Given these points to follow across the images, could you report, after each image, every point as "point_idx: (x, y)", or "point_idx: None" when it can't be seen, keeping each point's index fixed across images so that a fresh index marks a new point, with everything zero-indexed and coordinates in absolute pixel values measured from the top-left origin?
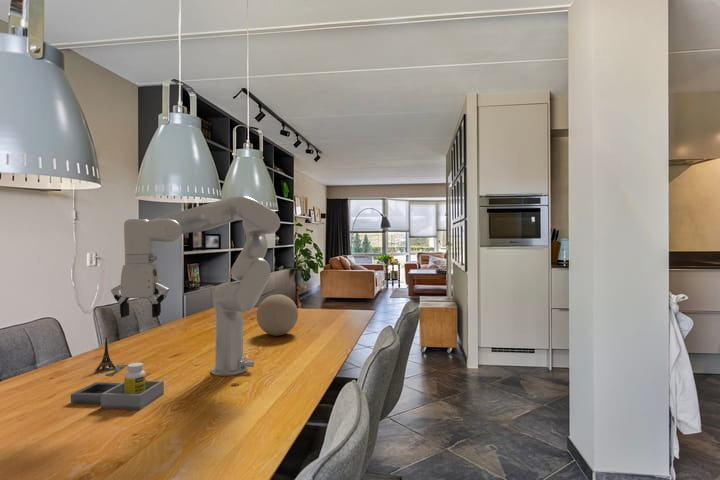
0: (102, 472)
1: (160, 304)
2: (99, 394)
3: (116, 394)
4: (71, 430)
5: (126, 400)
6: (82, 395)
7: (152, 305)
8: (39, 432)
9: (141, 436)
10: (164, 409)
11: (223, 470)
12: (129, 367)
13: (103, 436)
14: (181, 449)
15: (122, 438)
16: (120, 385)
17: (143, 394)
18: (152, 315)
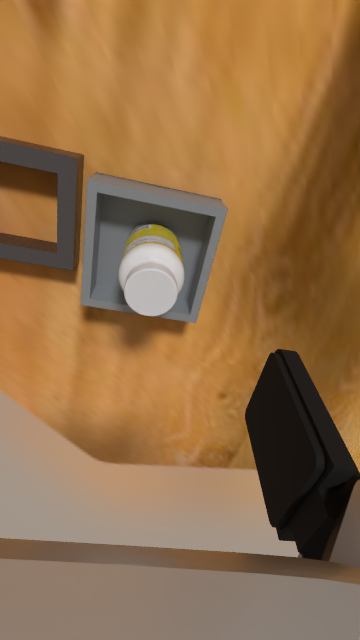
0: (216, 466)
1: (356, 472)
2: (54, 260)
3: (127, 311)
4: (99, 376)
5: None
6: (3, 257)
7: (276, 524)
8: (44, 379)
9: (235, 402)
10: (248, 306)
11: None
12: (140, 312)
13: (171, 398)
14: None
15: (206, 405)
16: (94, 235)
17: (198, 310)
18: (249, 425)
